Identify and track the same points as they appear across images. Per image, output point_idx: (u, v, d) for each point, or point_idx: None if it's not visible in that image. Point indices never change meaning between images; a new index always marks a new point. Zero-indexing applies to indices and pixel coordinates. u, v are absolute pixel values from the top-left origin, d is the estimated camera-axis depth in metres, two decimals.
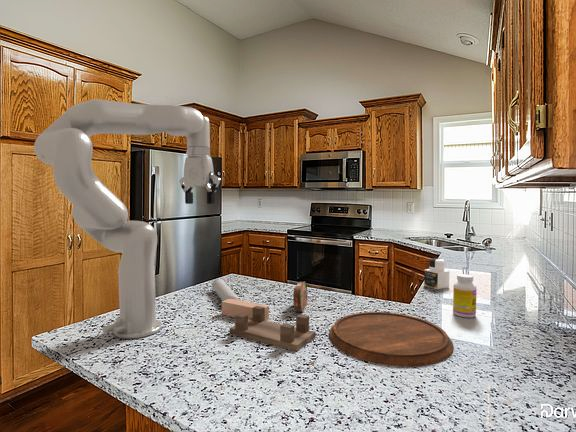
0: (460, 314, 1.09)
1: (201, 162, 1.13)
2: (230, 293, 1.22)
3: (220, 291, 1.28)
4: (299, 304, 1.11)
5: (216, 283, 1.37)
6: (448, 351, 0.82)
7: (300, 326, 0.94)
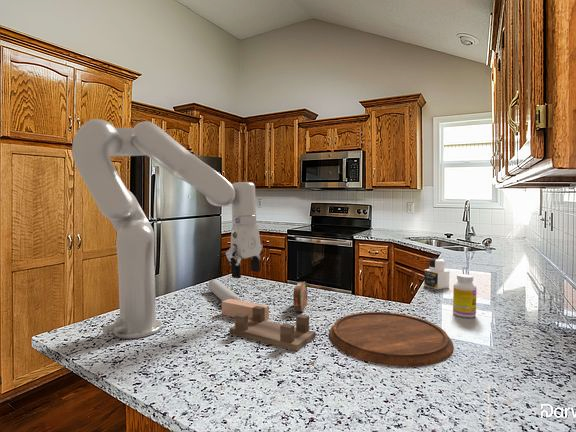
0: (460, 314, 1.09)
1: (257, 231, 1.10)
2: (231, 293, 1.22)
3: (219, 291, 1.28)
4: (299, 304, 1.11)
5: (213, 283, 1.37)
6: (448, 351, 0.82)
7: (300, 326, 0.94)
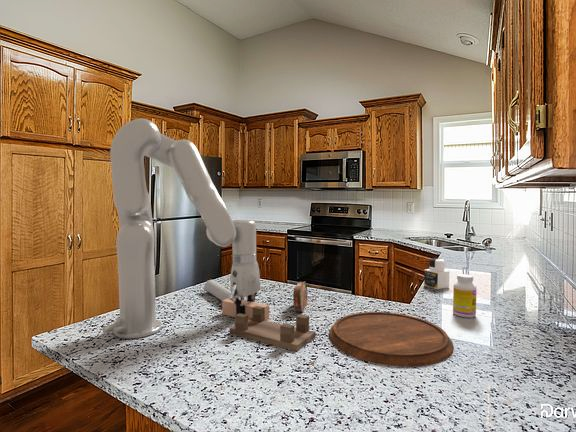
0: (460, 314, 1.09)
1: (257, 268, 1.11)
2: None
3: (218, 291, 1.28)
4: (299, 304, 1.11)
5: (210, 284, 1.36)
6: (448, 351, 0.82)
7: (300, 326, 0.94)
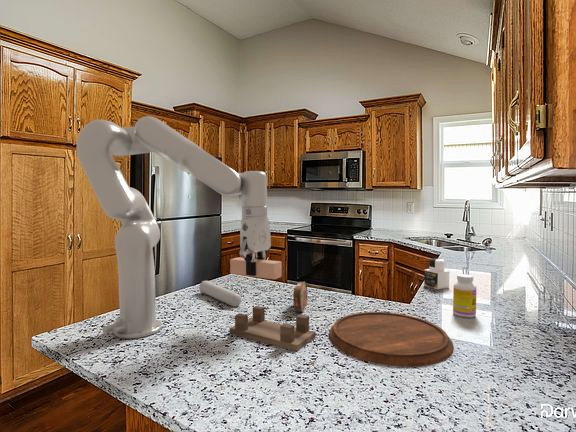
0: (460, 314, 1.09)
1: (267, 224, 1.04)
2: (233, 292, 1.22)
3: (217, 292, 1.27)
4: (299, 304, 1.11)
5: (206, 285, 1.35)
6: (448, 351, 0.82)
7: (300, 326, 0.94)
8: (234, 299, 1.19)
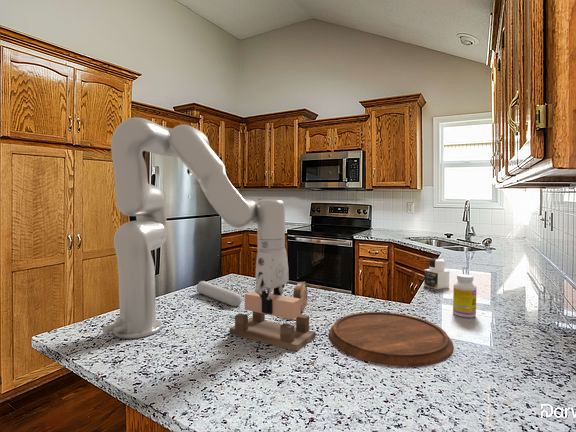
0: (460, 314, 1.09)
1: (285, 256, 0.95)
2: (233, 292, 1.22)
3: (216, 292, 1.27)
4: None
5: (203, 285, 1.34)
6: (448, 351, 0.82)
7: (300, 326, 0.94)
8: (235, 299, 1.20)
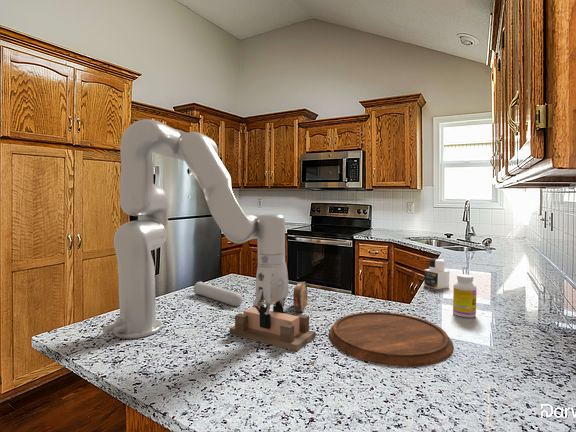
0: (460, 314, 1.09)
1: (285, 271, 0.96)
2: (233, 292, 1.23)
3: (216, 292, 1.26)
4: (299, 304, 1.11)
5: (201, 286, 1.33)
6: (448, 351, 0.82)
7: (300, 326, 0.94)
8: (236, 299, 1.20)
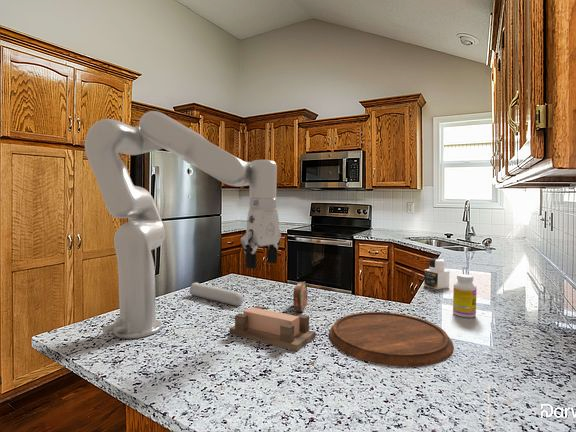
0: (460, 314, 1.09)
1: (276, 217, 0.97)
2: (234, 292, 1.23)
3: (215, 293, 1.26)
4: (299, 304, 1.11)
5: (198, 287, 1.32)
6: (448, 351, 0.82)
7: (300, 326, 0.94)
8: (238, 298, 1.20)
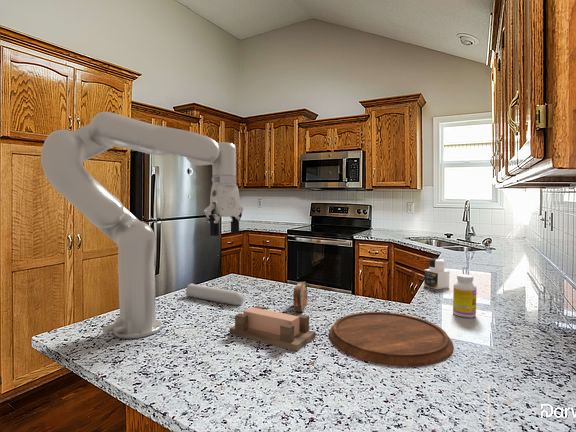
0: (460, 314, 1.09)
1: (237, 192, 1.12)
2: (235, 292, 1.23)
3: (214, 293, 1.25)
4: (299, 304, 1.11)
5: (195, 288, 1.31)
6: (448, 351, 0.82)
7: (300, 326, 0.94)
8: (239, 298, 1.21)
